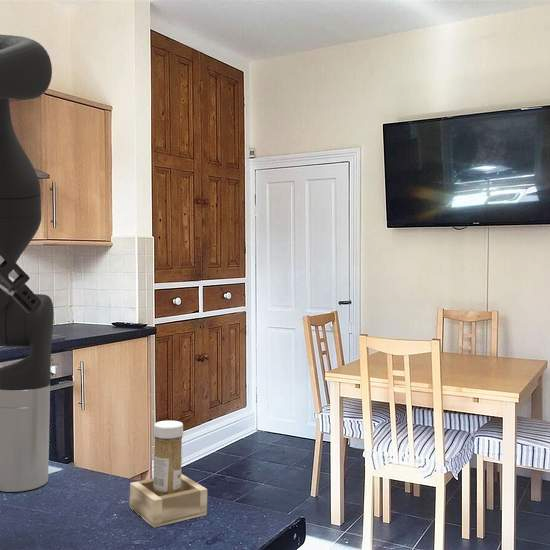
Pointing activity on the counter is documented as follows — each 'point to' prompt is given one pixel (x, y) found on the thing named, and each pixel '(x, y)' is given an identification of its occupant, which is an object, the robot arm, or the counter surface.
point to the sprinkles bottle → (167, 457)
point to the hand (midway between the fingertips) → (19, 306)
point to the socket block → (168, 502)
